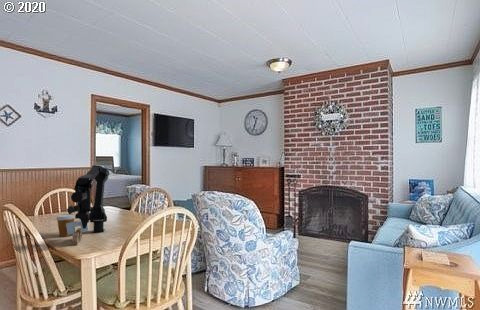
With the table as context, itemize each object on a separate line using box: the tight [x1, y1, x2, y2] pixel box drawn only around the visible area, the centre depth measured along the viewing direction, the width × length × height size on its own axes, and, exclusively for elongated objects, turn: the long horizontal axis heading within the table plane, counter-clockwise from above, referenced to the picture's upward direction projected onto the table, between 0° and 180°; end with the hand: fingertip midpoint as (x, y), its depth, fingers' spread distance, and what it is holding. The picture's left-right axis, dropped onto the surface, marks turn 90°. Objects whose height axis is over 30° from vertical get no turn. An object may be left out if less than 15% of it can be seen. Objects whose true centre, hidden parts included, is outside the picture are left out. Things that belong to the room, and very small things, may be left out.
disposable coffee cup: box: [55, 213, 76, 238], centre depth 170 cm, size 10×10×12 cm
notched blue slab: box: [66, 220, 90, 235], centre depth 158 cm, size 2×10×6 cm, turn 109°
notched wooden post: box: [72, 227, 83, 247], centre depth 158 cm, size 14×2×6 cm, turn 19°
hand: (84, 227), depth 159 cm, fingers closed on notched blue slab, 2 cm apart
